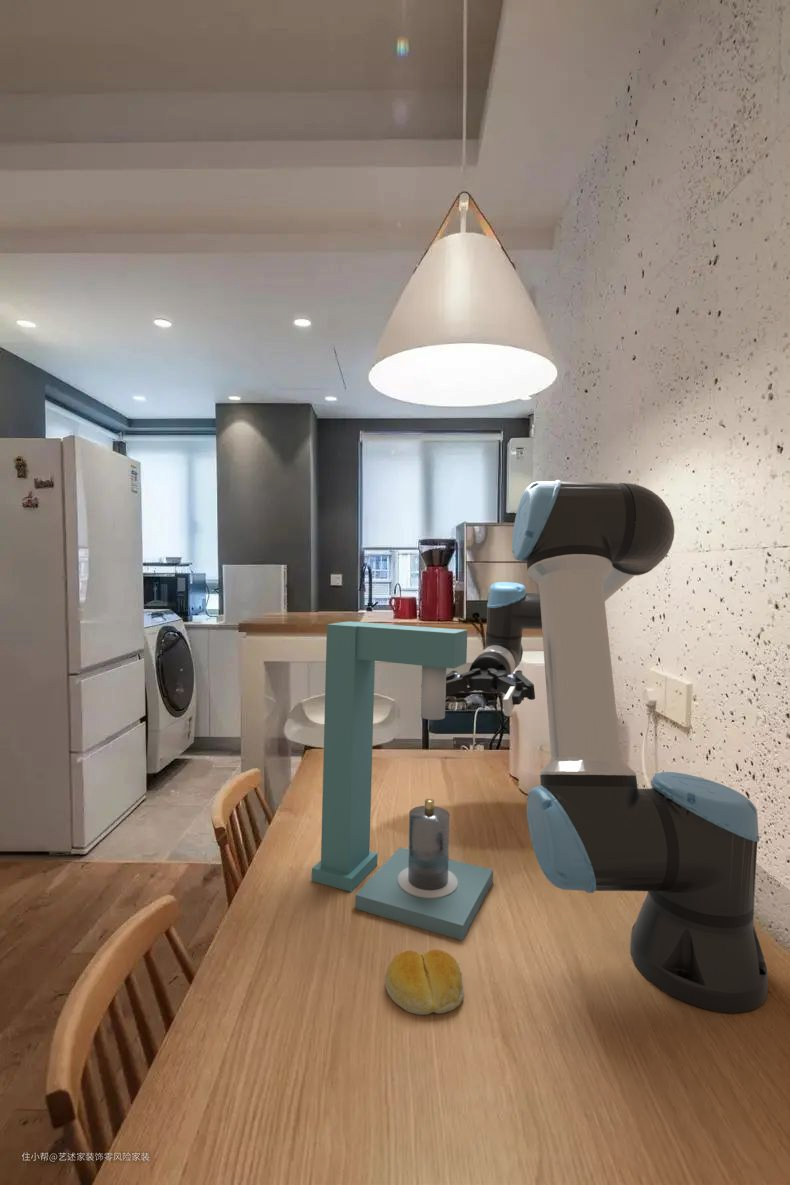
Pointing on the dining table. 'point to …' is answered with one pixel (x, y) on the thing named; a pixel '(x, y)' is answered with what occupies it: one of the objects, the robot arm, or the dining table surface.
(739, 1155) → the dining table surface
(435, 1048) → the dining table surface
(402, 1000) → the bread roll
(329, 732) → the arbor press
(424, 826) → the cylinder
